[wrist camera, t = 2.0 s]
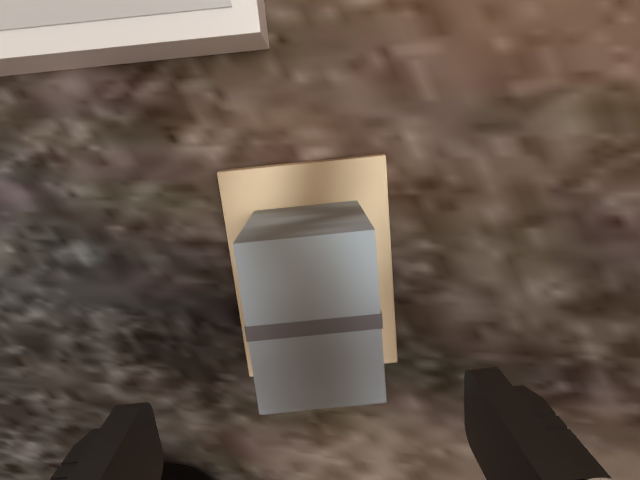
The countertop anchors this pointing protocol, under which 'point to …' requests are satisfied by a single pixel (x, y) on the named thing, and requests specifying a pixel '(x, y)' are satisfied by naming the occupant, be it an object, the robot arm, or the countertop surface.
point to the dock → (123, 32)
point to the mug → (181, 473)
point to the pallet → (313, 280)
